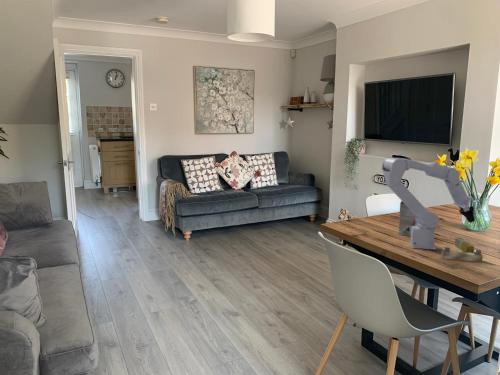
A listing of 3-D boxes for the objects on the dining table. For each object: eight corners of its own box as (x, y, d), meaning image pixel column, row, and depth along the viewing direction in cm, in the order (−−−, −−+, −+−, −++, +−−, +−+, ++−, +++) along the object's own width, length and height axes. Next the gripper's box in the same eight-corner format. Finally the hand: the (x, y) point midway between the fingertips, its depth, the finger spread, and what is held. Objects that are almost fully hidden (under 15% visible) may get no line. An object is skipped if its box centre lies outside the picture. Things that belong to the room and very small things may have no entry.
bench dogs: (443, 258, 155) (443, 248, 155) (442, 256, 157) (442, 246, 157) (481, 261, 151) (481, 251, 150) (479, 259, 153) (480, 250, 153)
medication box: (454, 246, 171) (455, 237, 170) (460, 246, 171) (461, 237, 170) (466, 255, 159) (467, 246, 159) (473, 255, 159) (474, 246, 158)
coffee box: (401, 230, 196) (403, 198, 194) (414, 231, 193) (417, 200, 190) (397, 234, 188) (399, 202, 186) (412, 236, 185) (414, 203, 183)
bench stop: (442, 258, 155) (442, 252, 155) (441, 256, 158) (441, 250, 157) (481, 261, 151) (482, 255, 151) (480, 259, 153) (480, 253, 153)
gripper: (471, 194, 160) (484, 221, 162) (463, 182, 173) (475, 207, 175) (453, 201, 162) (466, 227, 165) (446, 188, 175) (458, 213, 178)
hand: (469, 217), depth 170 cm, fingers open, 7 cm apart
